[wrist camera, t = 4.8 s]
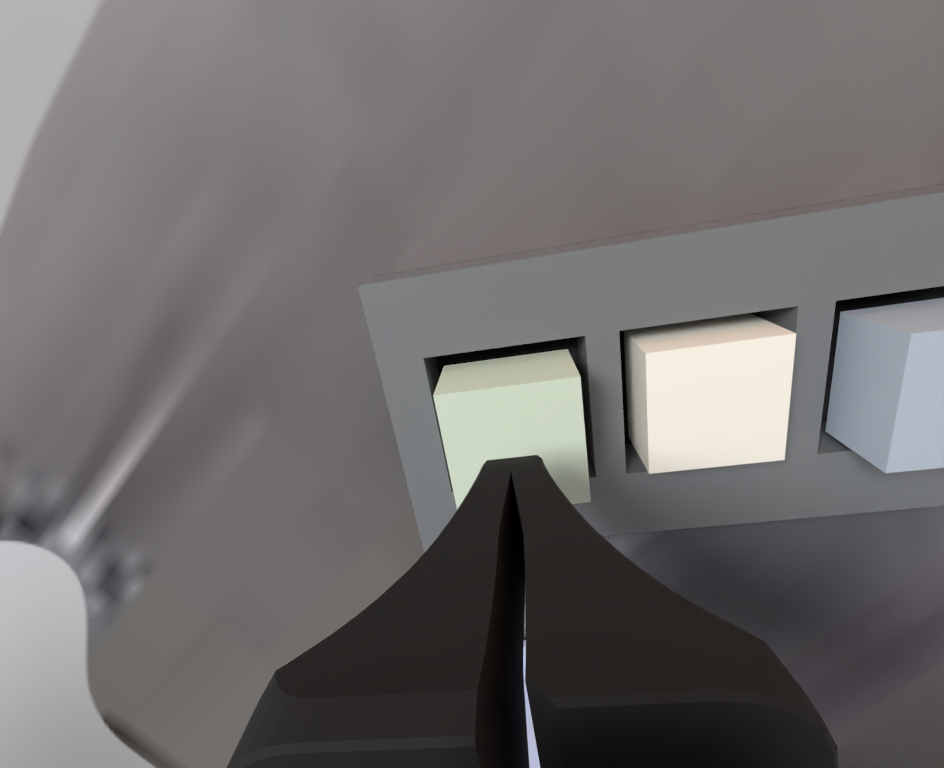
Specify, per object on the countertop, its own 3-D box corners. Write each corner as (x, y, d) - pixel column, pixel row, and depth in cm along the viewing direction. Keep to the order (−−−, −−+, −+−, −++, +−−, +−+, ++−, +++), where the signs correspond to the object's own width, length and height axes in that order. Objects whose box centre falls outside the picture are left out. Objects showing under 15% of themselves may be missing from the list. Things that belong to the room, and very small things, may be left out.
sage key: (577, 458, 16) (590, 502, 13) (464, 470, 16) (458, 515, 14) (567, 348, 14) (580, 376, 12) (443, 365, 15) (433, 395, 12)
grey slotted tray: (1155, 447, 16) (1241, 479, 14) (431, 518, 19) (424, 551, 17) (1289, 127, 12) (1427, 114, 11) (375, 276, 15) (357, 285, 14)
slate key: (961, 416, 14) (1049, 457, 12) (825, 431, 15) (885, 473, 13) (991, 290, 13) (1098, 309, 11) (840, 311, 13) (911, 334, 11)
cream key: (743, 423, 16) (784, 460, 14) (628, 436, 17) (648, 473, 14) (749, 313, 15) (796, 333, 12) (623, 330, 15) (645, 353, 13)
